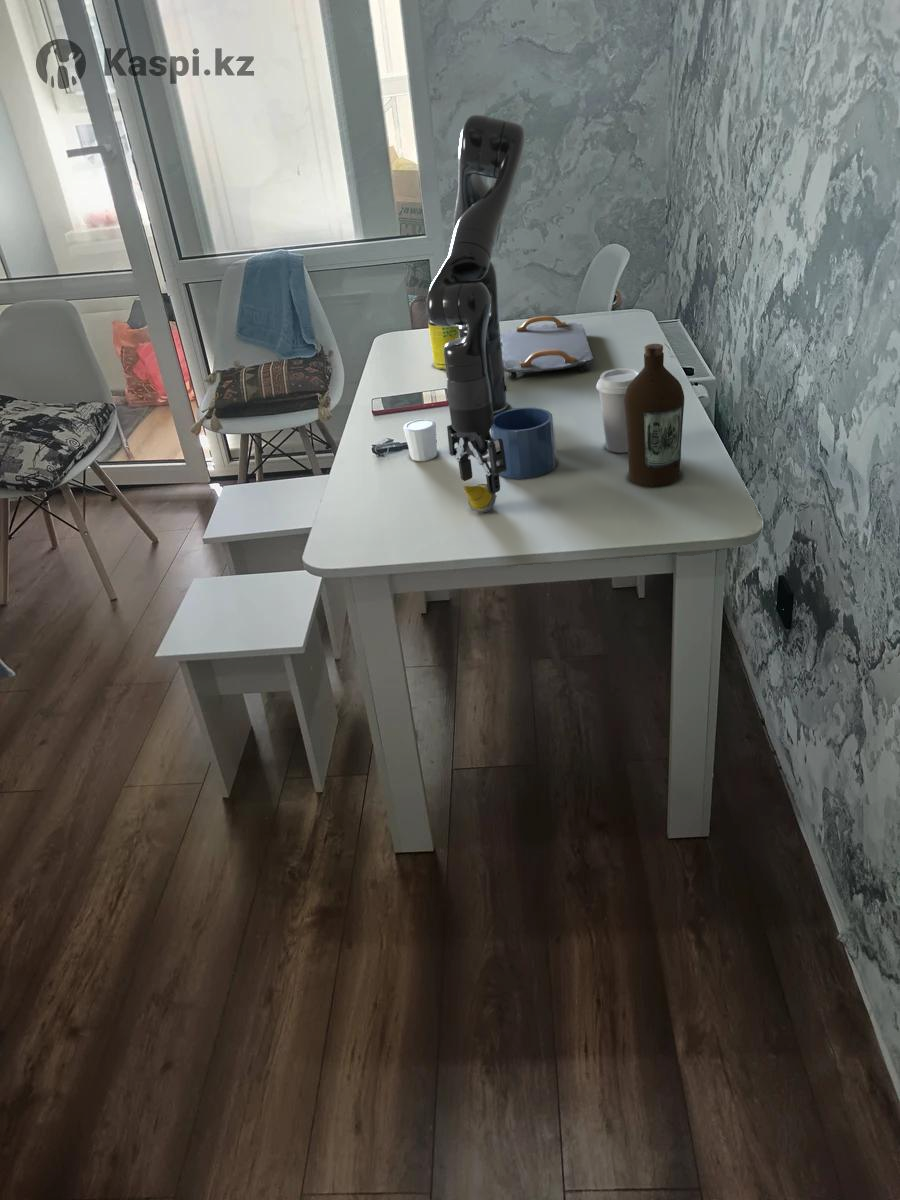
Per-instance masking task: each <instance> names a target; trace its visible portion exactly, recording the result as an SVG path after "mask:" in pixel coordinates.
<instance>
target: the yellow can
mask: <svg viewBox="0 0 900 1200" xmlns="http://www.w3.org/2000/svg"><path fill="white" fill-rule="evenodd" d="M427 324H428V332H429V340H430V346H431V354H432V360H433V366H434V368H435V369H439V370H446V367H445V360H444V347H445V345H446V344H447V343H448V342H450V341H452V340H454V339H457V338H459V331H458V330H459V327H441V326H437V325H435V324H434V323H432V322H431V320H430V319H429V318H428V320H427Z"/></svg>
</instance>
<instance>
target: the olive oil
mask: <svg viewBox="0 0 900 1200" xmlns="http://www.w3.org/2000/svg"><path fill="white" fill-rule="evenodd" d="M663 350H664V345H663V344H661V343H649V344H646V345H645V346H644V353H643V364H644V366H643V368H642V369H641V370H640V373H639V374H638V375H637V376H636V377H635V378H634V379H633V380H632V382H631V383H630V384H629V386H628V387H627V390H626V393H625V398H624V407H625V419H626V432H627V446H628V452H627V460H628V461H627V463H628V464H627V465H628V478H629V480H630V481H631V482H632V483H634V484H636V485H639V486H642V487H651V488H652V487H653V488H655V487H663V486H668V485H670V484H673V483H674V482H676V481H678V480H679V478H680V476H681V460H682V459H681V456H682V439H683V424H684V412H685V411H684V409H685V393H684V390H683V386H682V384H681V383H680V381H679V380H678V379H677V378H676V377H675V375H673V374H672V373H671V372H670V370H668V369H667V368H666V367H665V365H664V362H665V361H664V359H665V357H664V356H665V353H664V352H663Z"/></svg>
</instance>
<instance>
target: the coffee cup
mask: <svg viewBox="0 0 900 1200" xmlns="http://www.w3.org/2000/svg"><path fill="white" fill-rule="evenodd" d="M640 372H641V370H638V369H634V368H627V367H626V368H623V367H622V368H621V367H620V368H613V369H610V370H605V371H604V372H602V373H601V374H600V375H599V379H598V380H597V383H596V386H595V388H596V390H597V391H598V393H599V402H600V408H601V417H602V424H603V433H604V440H605V441H604V442H605V448H606V450H607V451H609V452H612V453H618V454H620V453H622V454H623V453H628V446H627V432H626V419H625V407H624V398H625V393H626V390H627V387H628V386H629V384H630V383H631V382H632V380H633V379H634V378H635V377H636V376H637V375H638V374H639V373H640Z"/></svg>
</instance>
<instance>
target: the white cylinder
mask: <svg viewBox="0 0 900 1200" xmlns="http://www.w3.org/2000/svg"><path fill="white" fill-rule="evenodd" d="M403 432H404V436H405V440H406V445H407V448H408V451H409V455H410V459H411V460H413V461H415V462H426V461H429V460H432V459H435V457H437V455H438V446H437V445H438V444H437V423H436V422H435V420H433V419H429V418H421V419H415V420H411V421H409V422H406V423H405V424H404V425H403Z"/></svg>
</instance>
